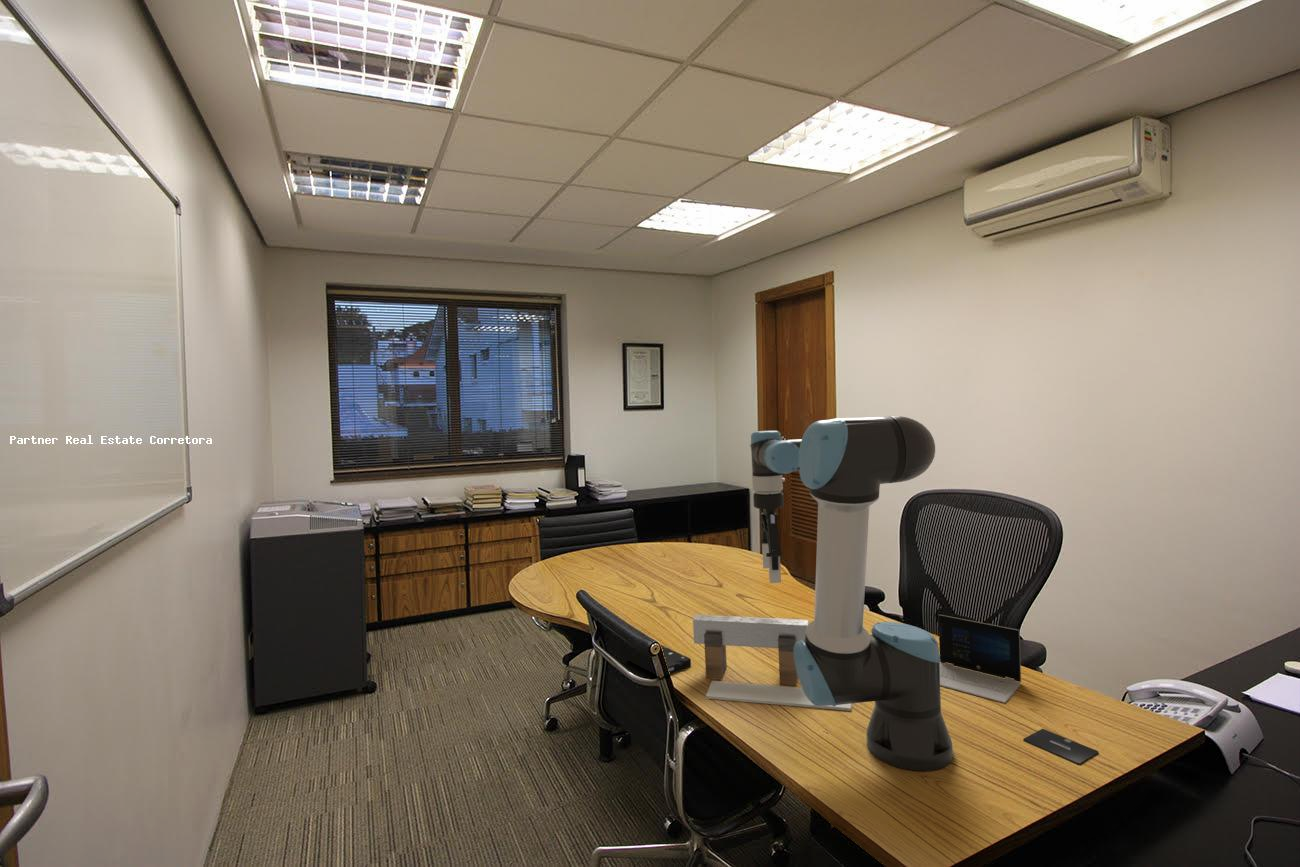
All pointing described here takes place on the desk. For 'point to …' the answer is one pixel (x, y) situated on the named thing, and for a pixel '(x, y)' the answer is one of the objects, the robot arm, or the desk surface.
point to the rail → (748, 630)
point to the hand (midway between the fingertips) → (771, 575)
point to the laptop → (979, 658)
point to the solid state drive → (1061, 746)
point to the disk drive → (675, 660)
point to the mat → (764, 695)
